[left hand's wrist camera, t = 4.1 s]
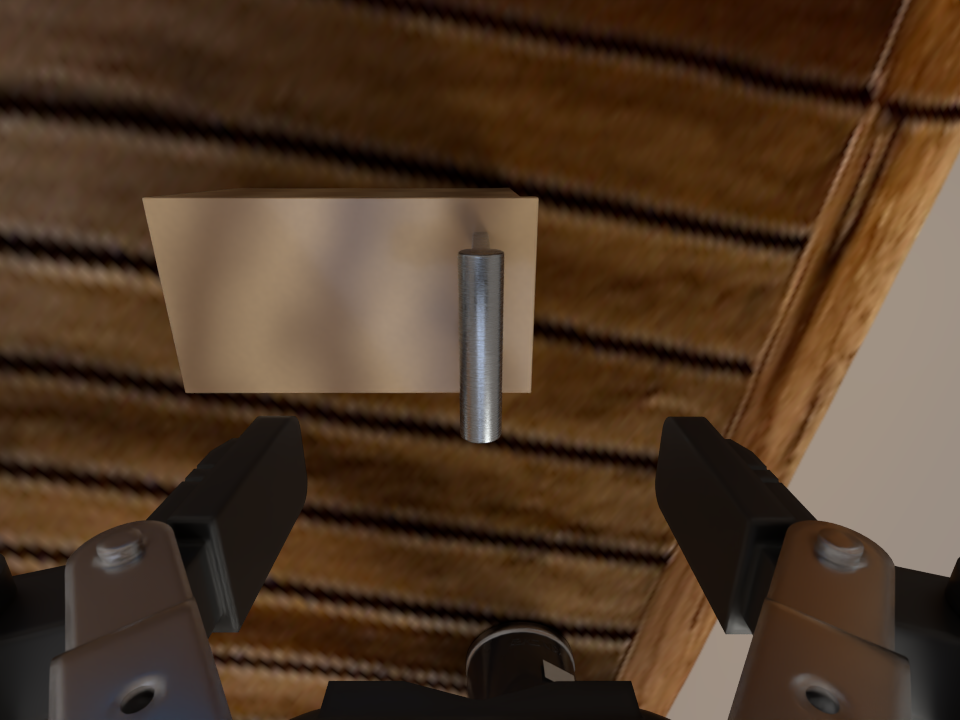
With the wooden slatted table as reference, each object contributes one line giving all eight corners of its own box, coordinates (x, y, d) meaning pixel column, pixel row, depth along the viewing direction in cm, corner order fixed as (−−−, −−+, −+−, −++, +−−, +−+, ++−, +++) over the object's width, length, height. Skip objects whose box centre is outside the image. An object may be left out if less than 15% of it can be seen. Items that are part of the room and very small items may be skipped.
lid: (536, 196, 23) (564, 212, 16) (529, 386, 26) (549, 475, 19) (152, 196, 23) (-7, 211, 15) (193, 386, 26) (79, 475, 19)
